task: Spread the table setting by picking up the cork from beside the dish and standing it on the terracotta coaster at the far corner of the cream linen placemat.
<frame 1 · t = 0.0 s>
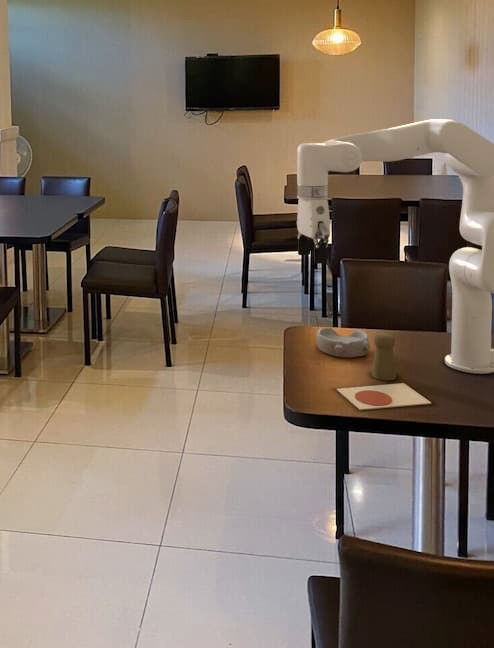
hand: (312, 258, 186), 31 cm above the table, tool pointing down, fingers open, 9 cm apart
placemat: (382, 396, 177), on the table
cork: (383, 376, 190), on the table
dish: (342, 351, 208), on the table
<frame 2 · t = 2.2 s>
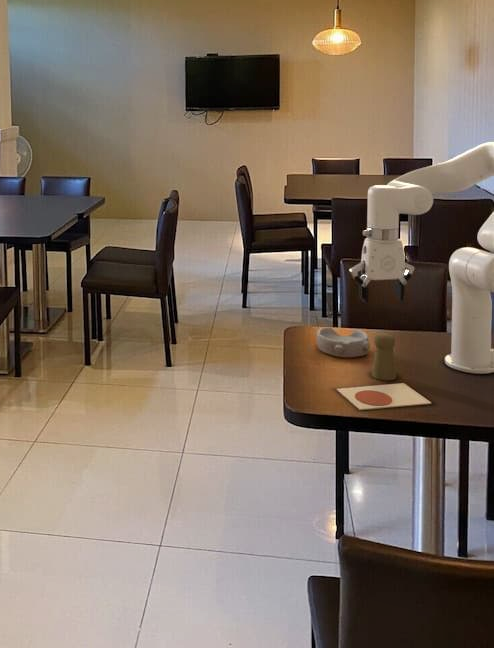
hand: (381, 300, 188), 20 cm above the table, tool pointing down, fingers open, 9 cm apart
nothing on the table moved.
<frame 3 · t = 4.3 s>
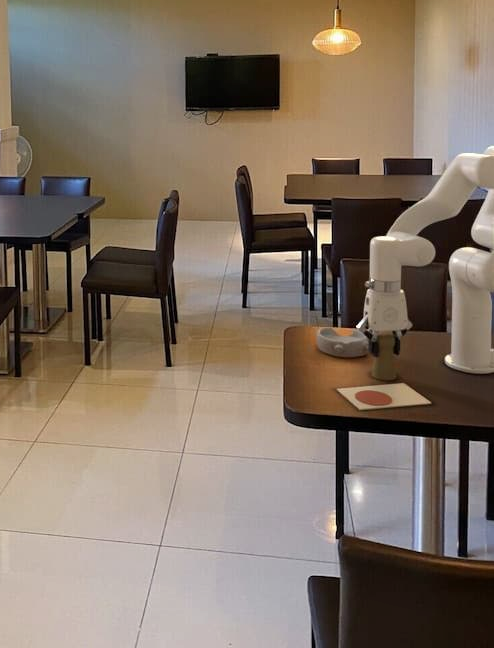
hand: (384, 353, 189), 6 cm above the table, tool pointing down, fingers closed on cork, 5 cm apart
cork: (383, 376, 190), on the table, touching gripper
everything else where it was.
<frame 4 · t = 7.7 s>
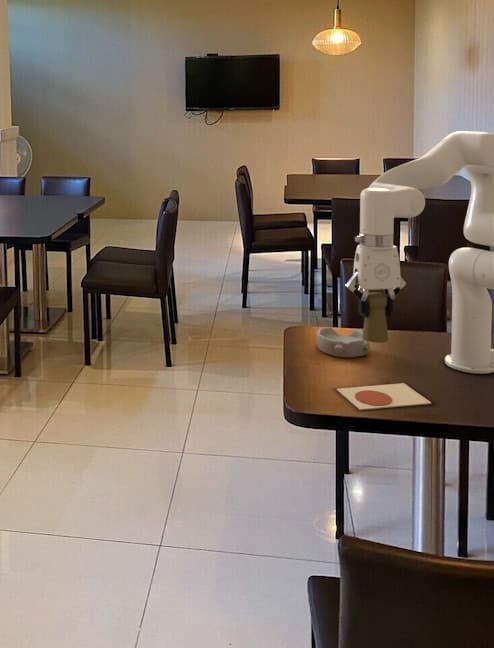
hand: (375, 314, 175), 20 cm above the table, tool pointing down, fingers closed on cork, 5 cm apart
cork: (375, 339, 176), point 14 cm above the table, touching gripper
everything else where it was.
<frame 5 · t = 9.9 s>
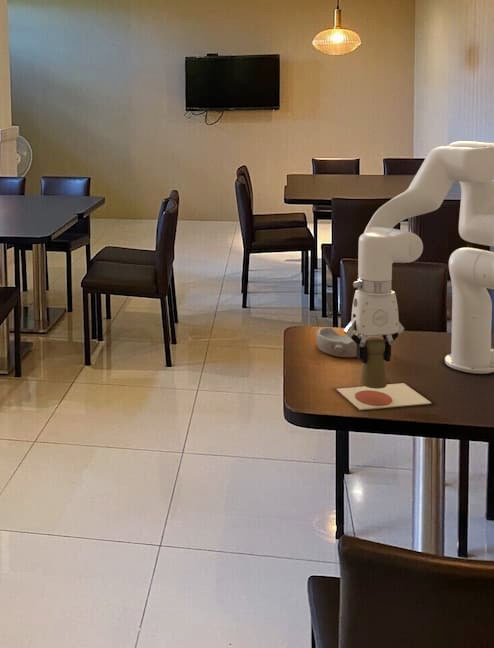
hand: (373, 359, 174), 10 cm above the table, tool pointing down, fingers closed on cork, 5 cm apart
cork: (373, 384, 175), point 4 cm above the table, touching gripper
everything else where it was.
when the fingers open (6 cm above the table, at t = 11.3 s): cork stays where it is, resting on placemat.
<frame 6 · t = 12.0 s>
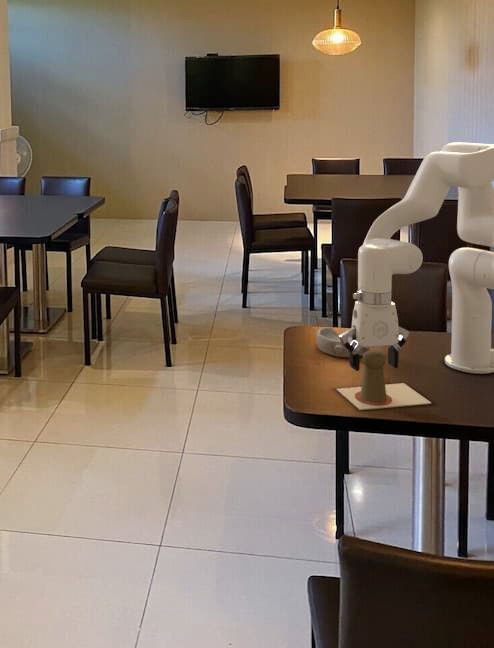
hand: (373, 367, 175), 8 cm above the table, tool pointing down, fingers open, 9 cm apart
cork: (373, 398, 175), resting on placemat
everything else where it was.
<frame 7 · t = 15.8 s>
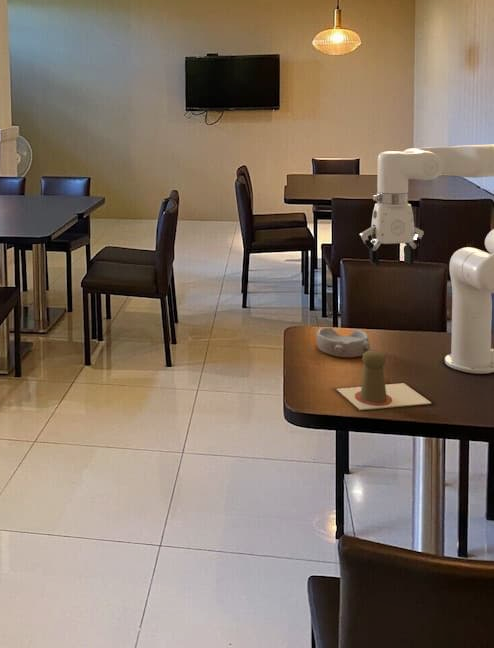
hand: (391, 263, 192), 28 cm above the table, tool pointing down, fingers open, 9 cm apart
nothing on the table moved.
at the end: cork 0.1 cm from the target spot, resting on placemat; cork tilted 0°; dish moved 0.2 cm from its start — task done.
